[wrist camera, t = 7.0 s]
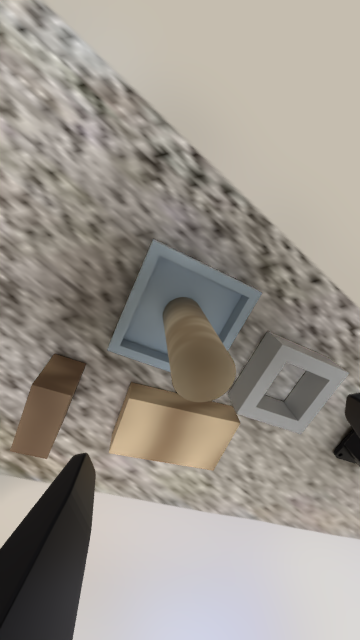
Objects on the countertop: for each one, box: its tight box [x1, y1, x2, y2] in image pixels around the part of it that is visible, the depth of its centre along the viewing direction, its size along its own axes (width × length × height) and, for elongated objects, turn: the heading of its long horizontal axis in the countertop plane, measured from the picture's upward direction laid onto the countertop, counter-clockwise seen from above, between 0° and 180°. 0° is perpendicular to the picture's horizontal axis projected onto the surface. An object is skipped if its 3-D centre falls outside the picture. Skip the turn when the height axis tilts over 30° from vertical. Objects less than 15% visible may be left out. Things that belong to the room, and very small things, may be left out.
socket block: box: [228, 331, 349, 434], centre depth 21 cm, size 7×7×2 cm
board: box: [109, 382, 240, 470], centre depth 22 cm, size 10×6×2 cm, turn 69°
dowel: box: [163, 297, 236, 402], centre depth 15 cm, size 3×3×8 cm
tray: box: [107, 239, 262, 372], centre depth 18 cm, size 8×8×2 cm
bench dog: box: [10, 354, 86, 459], centre depth 19 cm, size 2×6×4 cm, turn 154°
